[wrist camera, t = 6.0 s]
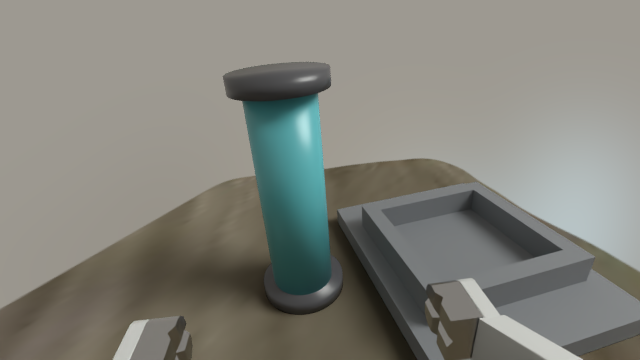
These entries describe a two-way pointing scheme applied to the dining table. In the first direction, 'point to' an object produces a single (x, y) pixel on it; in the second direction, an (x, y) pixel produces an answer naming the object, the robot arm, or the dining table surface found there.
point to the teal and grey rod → (290, 180)
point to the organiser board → (485, 267)
